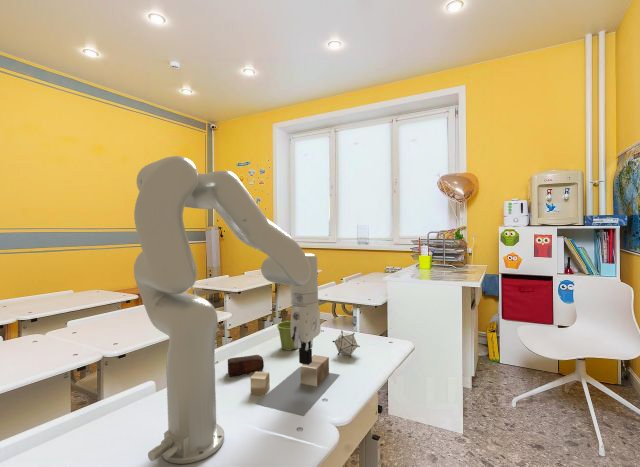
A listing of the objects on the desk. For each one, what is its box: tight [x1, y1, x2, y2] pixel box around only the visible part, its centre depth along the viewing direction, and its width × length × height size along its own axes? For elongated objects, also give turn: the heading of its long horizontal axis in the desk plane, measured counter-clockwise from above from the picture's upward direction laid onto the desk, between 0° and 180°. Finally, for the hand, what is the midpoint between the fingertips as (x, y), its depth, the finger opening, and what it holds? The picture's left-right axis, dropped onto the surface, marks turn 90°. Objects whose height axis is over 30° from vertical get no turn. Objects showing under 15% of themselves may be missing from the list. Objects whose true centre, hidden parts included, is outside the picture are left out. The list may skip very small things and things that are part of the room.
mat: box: [255, 367, 341, 417], centre depth 96 cm, size 24×14×1 cm, turn 155°
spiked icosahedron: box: [332, 330, 361, 358], centre depth 120 cm, size 9×8×10 cm
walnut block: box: [300, 354, 330, 386], centre depth 102 cm, size 5×5×9 cm
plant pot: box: [276, 320, 297, 351], centre depth 128 cm, size 9×9×9 cm
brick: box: [227, 354, 265, 378], centre depth 108 cm, size 11×4×5 cm, turn 112°
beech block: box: [250, 371, 271, 397], centre depth 94 cm, size 4×4×5 cm
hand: (305, 362), depth 96 cm, fingers closed
